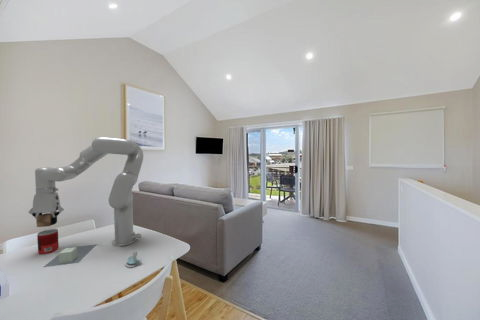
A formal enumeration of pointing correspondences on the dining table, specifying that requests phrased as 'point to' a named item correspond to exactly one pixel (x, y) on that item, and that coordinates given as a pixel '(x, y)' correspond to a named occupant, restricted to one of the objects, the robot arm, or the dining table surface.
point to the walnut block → (44, 220)
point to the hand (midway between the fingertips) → (47, 224)
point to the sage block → (67, 255)
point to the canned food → (47, 241)
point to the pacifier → (132, 260)
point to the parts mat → (81, 253)
